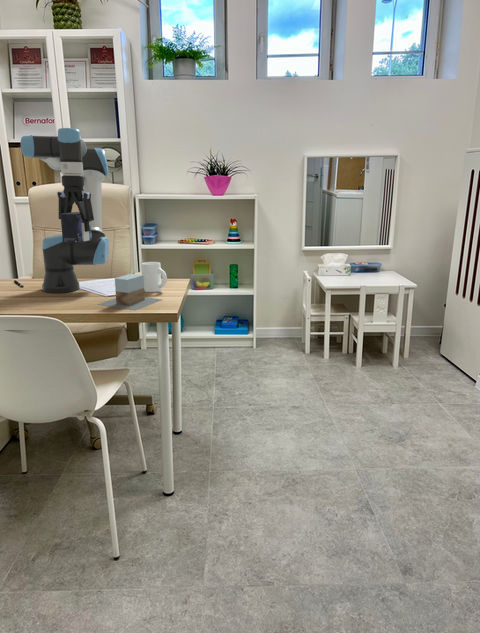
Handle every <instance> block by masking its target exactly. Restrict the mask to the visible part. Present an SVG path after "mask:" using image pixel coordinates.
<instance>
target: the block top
mask: <svg viewBox="0 0 480 633" xmlns="http://www.w3.org/2000/svg"><path fill="white" fill-rule="evenodd" d="M114 287H115V289H114V291H115V292H116V291H118V292H125V293H130V292H133V291H136V290H139V289H142V288H144V275H142V274H137V273H129V274H126V275H122V276H121V275H120V276H117V277H114Z"/></svg>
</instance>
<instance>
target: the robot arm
mask: <svg viewBox="0 0 480 633" xmlns="http://www.w3.org/2000/svg"><path fill="white" fill-rule="evenodd" d="M20 150H21V153H22V156H24V157H25V158H31V159H33V158H36V159H39V160H40V161H43V162H44V163H46V164H47V166H48V167H49V168H51V169H52V170H53V171H56V172H59V173H61V176H60V177H61V186H62V187H63V190H62V191H57V192H56V194H57V197H58V219H59V220H61V215H60V214H62V213H71V212H72V211H73V205H74V204H75V205H76V206H77V208H78V212H80V215H81V217H82V220H83V221H82V223H81V226H82V239H83V241H86V242H82V243H63V239H62V234H56V235H51V236H47V237H45V238H43V239H42V241H41V242H42V248H41V250H42V255H43V263H44V276H43V283H42V284H41V288H42V289H41V290H42V291H43V292H45V293H50V294H60V293H61V294H63V293H71V292H75V291H78V290H80V282H79V281H78V278H77V275H76V273H75V268H74V266H99V265H105V264H106V263H107V261H108V258H109V254H110V252H109V251H110V240H109V237H107V236H106V233H105V232H103V225H102V224H103V222H102V218H103V216H102V215H103V214H102V213H103V212H102V211H103V210H102V206H103V205H102V204H103V203H102V198H103V197H102V193H103V192H102V183H103V182H104V181H105V179H106V176H109V167H108V160H107V157H106V156H107V155H106V152H105V150H104V149H103V148H101V147H87V144H86V142H85V141H84V140H83V138H82V136H81V131H80V129H79V128H71V127H60V128H58V129H57V135H54V136H53V135H49V136H48V135H47V136H46V135H32V134H30V135H23V136H21V139H20ZM90 221H91V232H92V240H91V241H89V231H90V224H89V223H90Z"/></svg>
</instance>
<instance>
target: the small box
mask: <svg viewBox="0 0 480 633" xmlns="http://www.w3.org/2000/svg"><path fill="white" fill-rule="evenodd" d="M60 215H61V219H60V224H61V226H60V227H61V235H62V239H63V243H82V242H86V241H83V239H82V226H81V223H82V221H83V220H82V217H81V215H80V212H79V211H73V212H72V211H71V213H62V214H60ZM89 224H90V231H89V241H91V240H92V232H91V221H90V223H89Z"/></svg>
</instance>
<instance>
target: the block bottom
mask: <svg viewBox="0 0 480 633" xmlns="http://www.w3.org/2000/svg"><path fill="white" fill-rule="evenodd" d="M145 297H146V295H145V291H144V288H142V289H139V290H136V291H133V292H130V293H125V292H118V291H115V298H116V304H120V305H127V306H130V305H133V304H135V303H138V302H141V301H144V300H145Z"/></svg>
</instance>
